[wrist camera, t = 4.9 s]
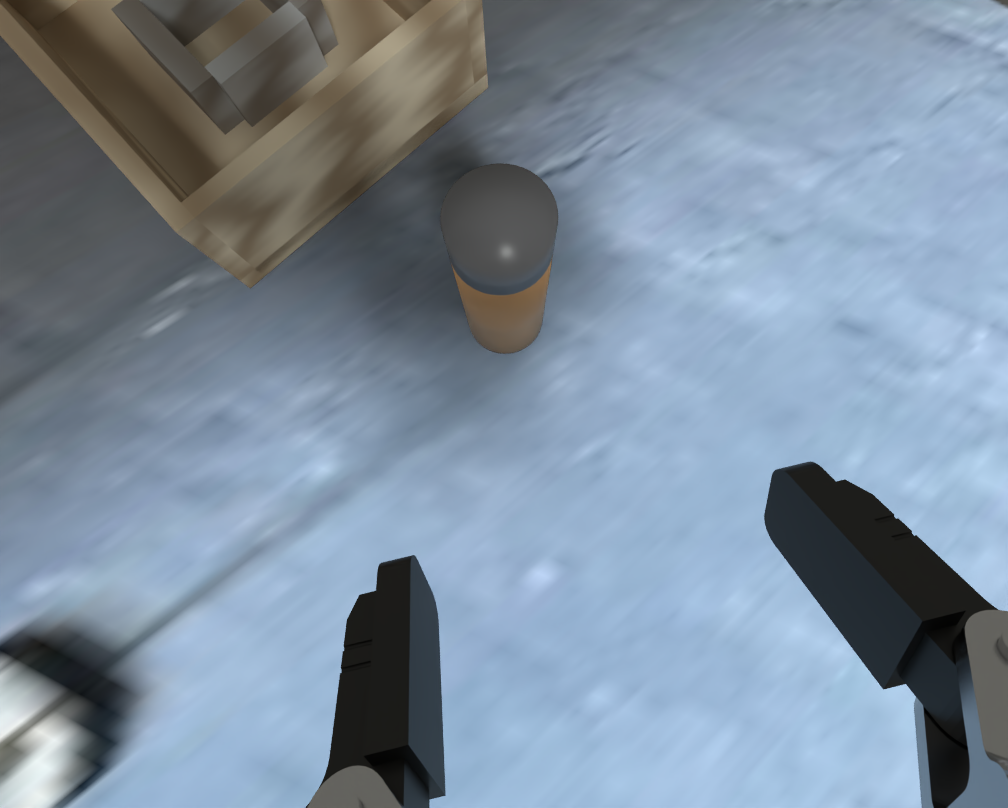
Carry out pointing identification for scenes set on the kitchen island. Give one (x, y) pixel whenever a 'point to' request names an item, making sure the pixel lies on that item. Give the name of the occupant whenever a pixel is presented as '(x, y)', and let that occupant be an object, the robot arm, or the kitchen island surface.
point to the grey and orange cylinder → (501, 252)
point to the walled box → (253, 102)
